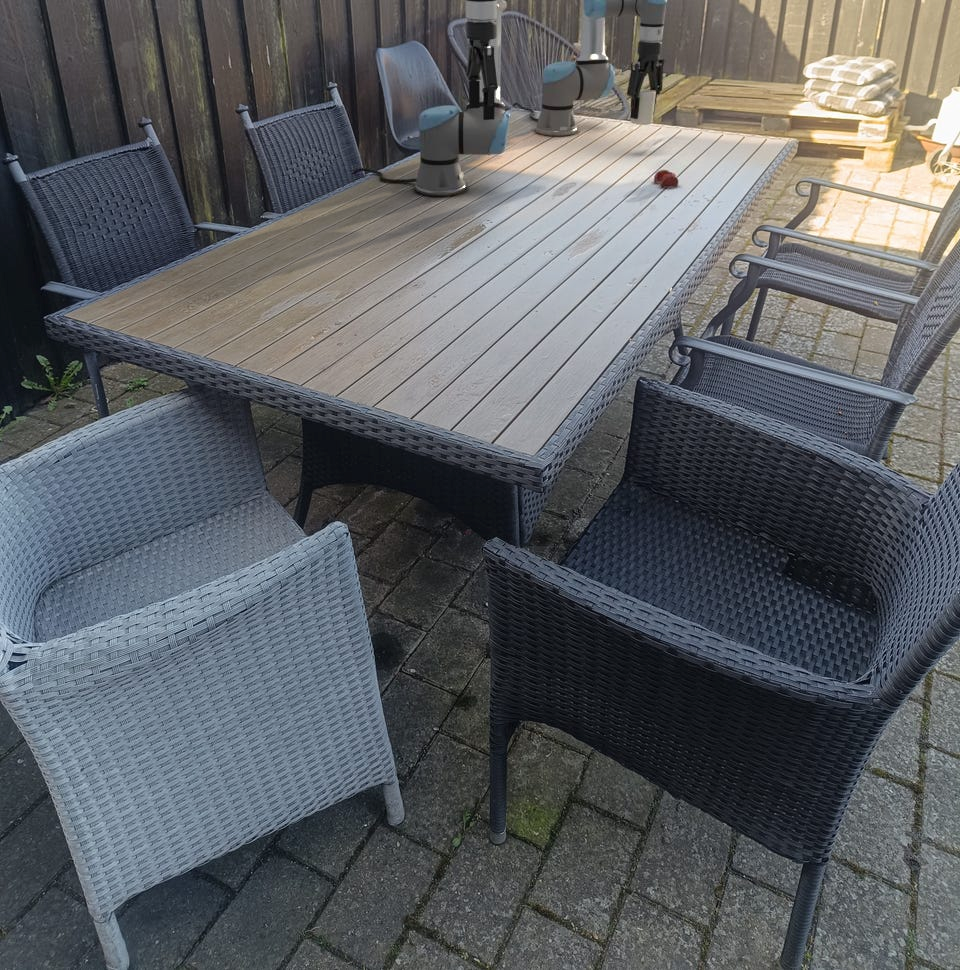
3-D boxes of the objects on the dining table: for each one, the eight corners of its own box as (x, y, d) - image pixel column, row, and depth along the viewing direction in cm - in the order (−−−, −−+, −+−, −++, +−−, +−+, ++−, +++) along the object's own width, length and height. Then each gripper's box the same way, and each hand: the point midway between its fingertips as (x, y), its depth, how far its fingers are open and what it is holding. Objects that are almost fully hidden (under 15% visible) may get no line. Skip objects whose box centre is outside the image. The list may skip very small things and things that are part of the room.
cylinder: (645, 125, 281) (648, 94, 275) (626, 122, 285) (629, 91, 279) (656, 121, 286) (659, 90, 280) (637, 118, 289) (640, 88, 284)
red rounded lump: (669, 166, 264) (680, 173, 258) (668, 179, 266) (679, 187, 260) (653, 168, 263) (663, 175, 257) (652, 181, 265) (662, 189, 259)
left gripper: (511, 26, 196) (509, 123, 208) (482, 13, 215) (482, 102, 228) (480, 27, 194) (480, 125, 207) (453, 14, 214) (455, 104, 226)
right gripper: (637, 45, 263) (629, 123, 277) (680, 39, 273) (670, 114, 287) (619, 42, 268) (613, 118, 282) (662, 36, 278) (653, 110, 292)
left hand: (481, 113), depth 217 cm, fingers open, 13 cm apart
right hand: (642, 116), depth 284 cm, fingers closed on cylinder, 7 cm apart
